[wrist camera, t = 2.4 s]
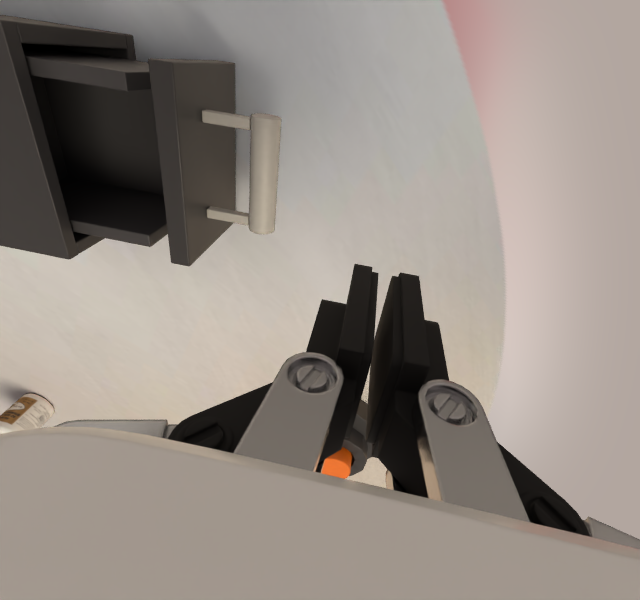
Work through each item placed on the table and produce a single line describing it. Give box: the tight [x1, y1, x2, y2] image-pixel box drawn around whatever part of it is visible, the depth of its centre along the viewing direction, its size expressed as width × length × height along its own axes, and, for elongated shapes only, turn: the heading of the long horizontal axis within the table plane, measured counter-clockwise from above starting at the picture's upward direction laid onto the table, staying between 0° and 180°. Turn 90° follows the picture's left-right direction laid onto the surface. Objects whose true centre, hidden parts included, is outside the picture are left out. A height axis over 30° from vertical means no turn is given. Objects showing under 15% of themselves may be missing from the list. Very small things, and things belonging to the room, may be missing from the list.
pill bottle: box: [0, 394, 54, 434], centre depth 45 cm, size 4×4×8 cm
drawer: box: [22, 44, 281, 266], centre depth 22 cm, size 18×10×8 cm, turn 83°
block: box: [342, 400, 372, 476], centre depth 39 cm, size 10×8×4 cm
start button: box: [322, 447, 352, 479], centre depth 37 cm, size 4×4×2 cm
